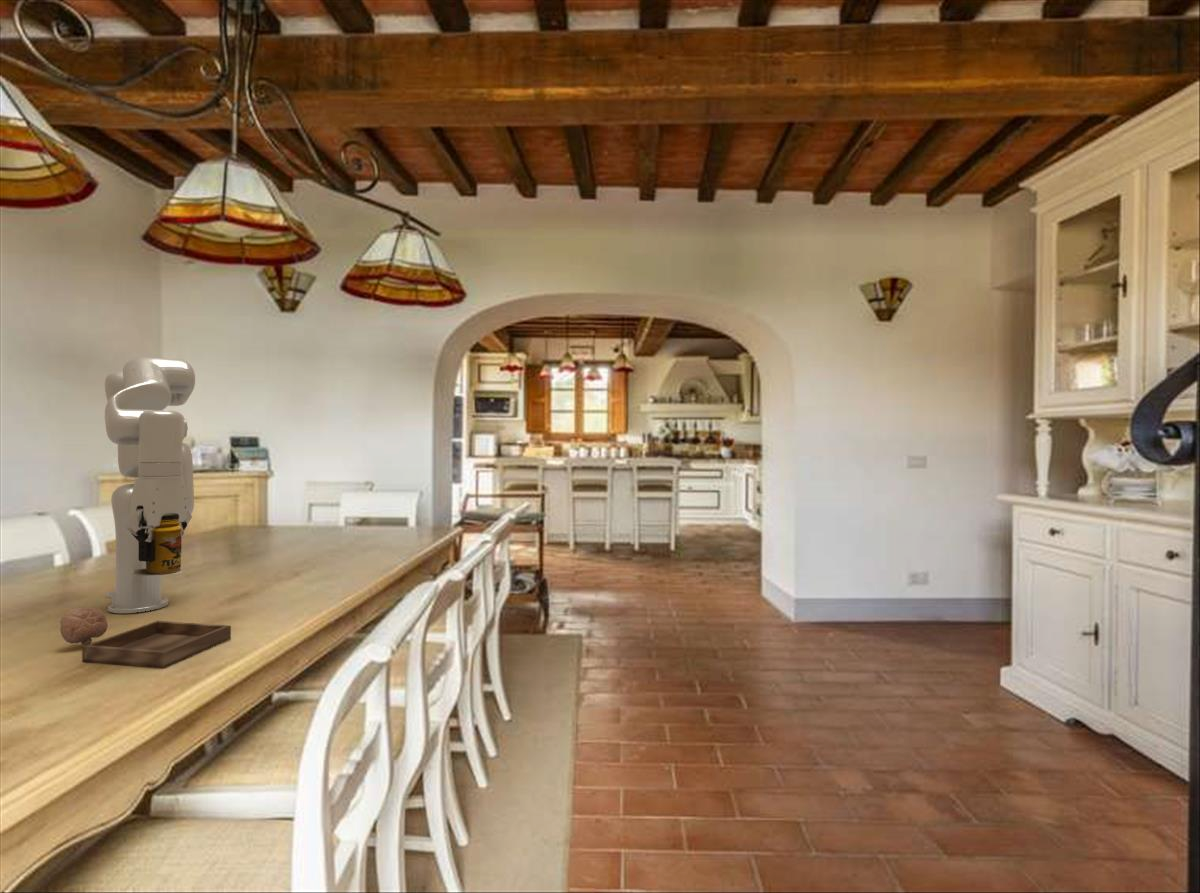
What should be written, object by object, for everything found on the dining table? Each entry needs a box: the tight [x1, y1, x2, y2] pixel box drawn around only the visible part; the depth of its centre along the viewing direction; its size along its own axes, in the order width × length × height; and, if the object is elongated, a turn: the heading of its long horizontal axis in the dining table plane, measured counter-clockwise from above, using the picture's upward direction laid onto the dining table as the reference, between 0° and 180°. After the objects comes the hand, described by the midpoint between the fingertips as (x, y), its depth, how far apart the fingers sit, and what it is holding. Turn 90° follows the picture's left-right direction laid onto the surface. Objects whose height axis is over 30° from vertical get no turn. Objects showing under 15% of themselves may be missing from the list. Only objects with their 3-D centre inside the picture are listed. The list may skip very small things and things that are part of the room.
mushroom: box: [59, 606, 109, 646], centre depth 137 cm, size 8×6×8 cm
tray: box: [81, 620, 232, 669], centre depth 136 cm, size 18×18×3 cm
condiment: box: [133, 514, 184, 577], centre depth 135 cm, size 7×8×12 cm
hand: (160, 557), depth 135 cm, fingers closed on condiment, 6 cm apart
